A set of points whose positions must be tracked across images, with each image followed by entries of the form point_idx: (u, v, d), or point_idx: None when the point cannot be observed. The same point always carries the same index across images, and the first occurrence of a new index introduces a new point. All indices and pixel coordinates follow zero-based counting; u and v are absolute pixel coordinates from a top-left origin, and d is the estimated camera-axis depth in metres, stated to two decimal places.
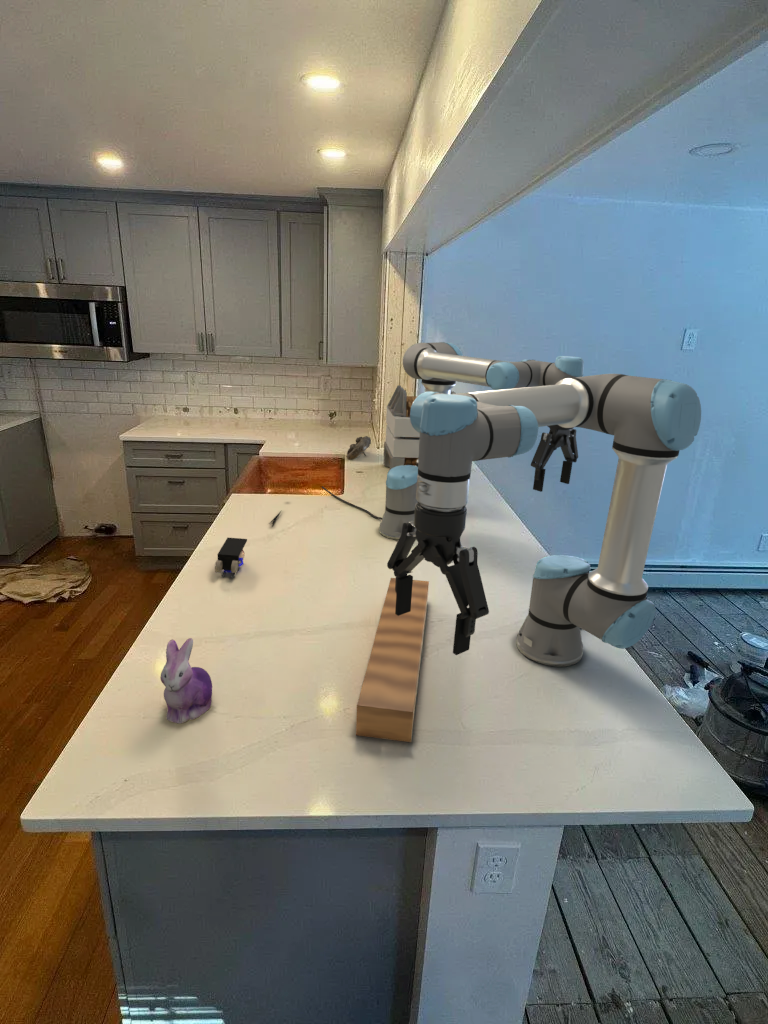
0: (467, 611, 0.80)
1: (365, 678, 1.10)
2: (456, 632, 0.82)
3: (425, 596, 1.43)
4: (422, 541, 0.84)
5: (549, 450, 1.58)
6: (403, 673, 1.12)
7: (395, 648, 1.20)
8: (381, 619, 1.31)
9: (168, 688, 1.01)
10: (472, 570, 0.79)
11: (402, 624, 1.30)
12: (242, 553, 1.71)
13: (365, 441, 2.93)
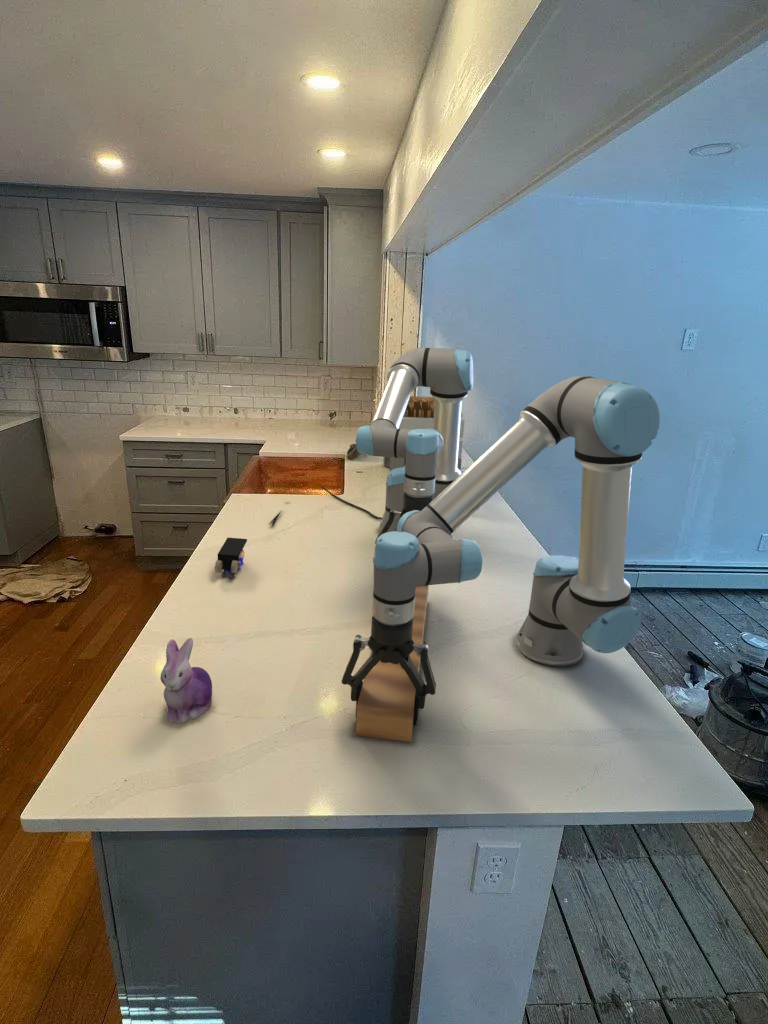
0: (424, 691, 1.05)
1: (365, 678, 1.10)
2: (415, 709, 1.06)
3: (425, 596, 1.43)
4: (382, 650, 1.02)
5: (396, 530, 1.41)
6: (403, 673, 1.12)
7: None
8: None
9: (168, 688, 1.01)
10: (428, 660, 1.04)
11: None
12: (242, 553, 1.71)
13: None
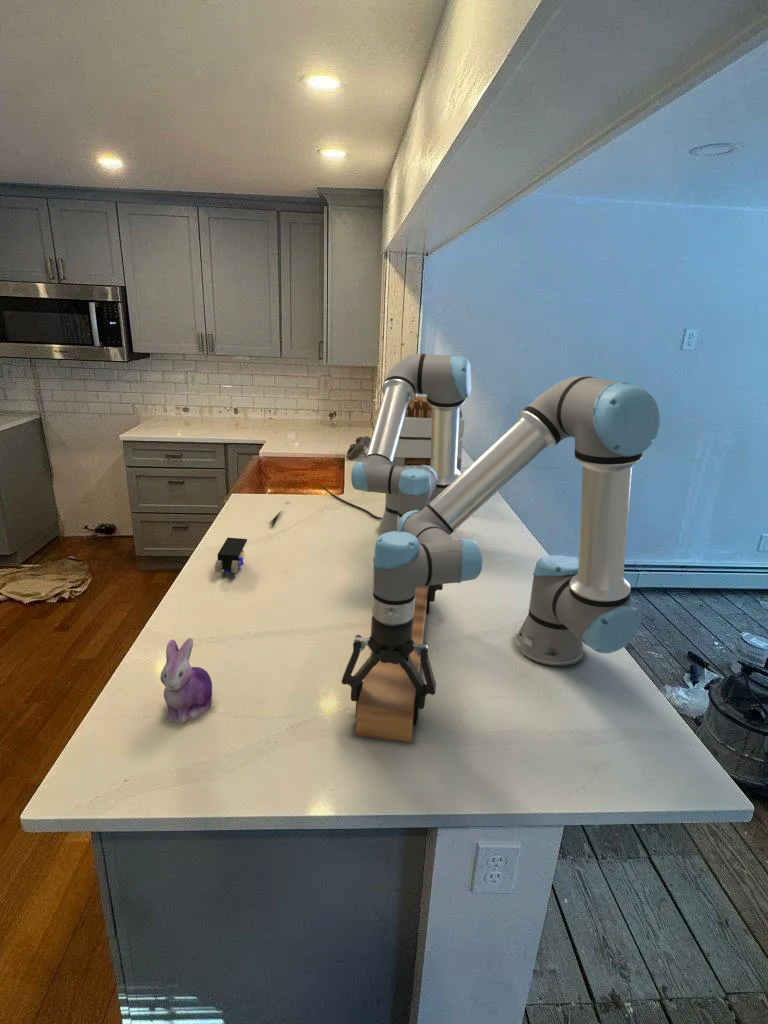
0: (424, 691, 1.05)
1: (365, 678, 1.10)
2: (415, 709, 1.06)
3: (425, 596, 1.43)
4: (382, 650, 1.02)
5: None
6: (403, 673, 1.12)
7: None
8: None
9: (168, 688, 1.01)
10: (428, 660, 1.04)
11: None
12: (242, 553, 1.71)
13: (365, 441, 2.93)
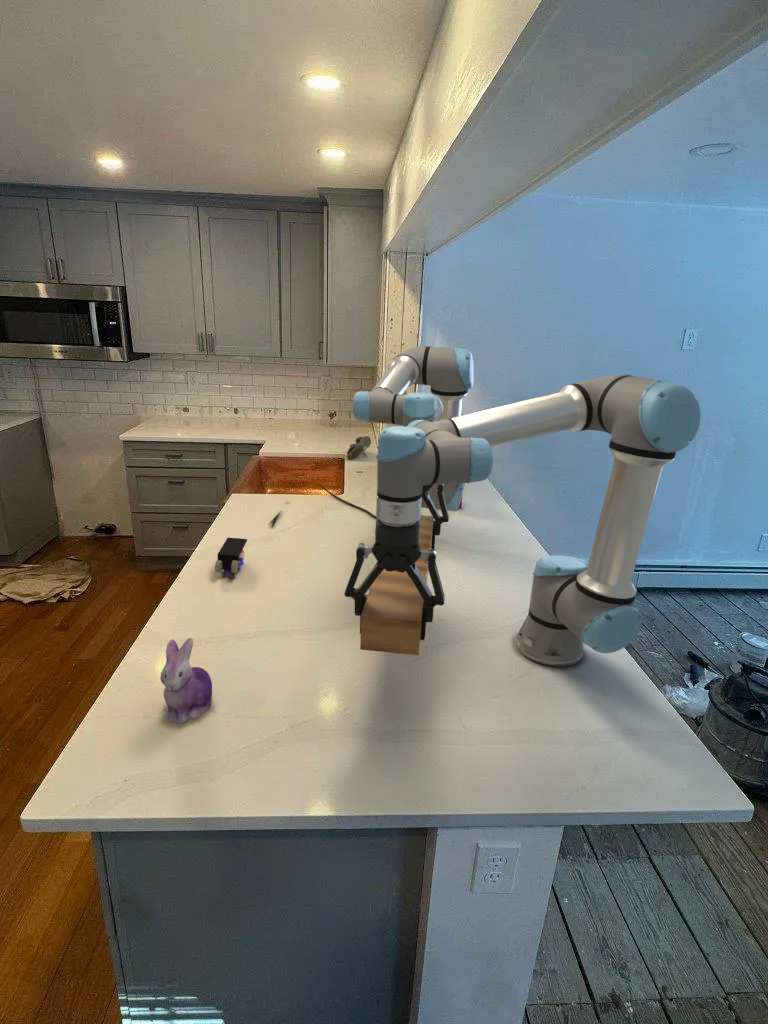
0: (432, 602, 0.99)
1: (369, 593, 1.04)
2: (423, 622, 1.00)
3: (430, 528, 1.37)
4: (387, 556, 0.96)
5: None
6: (409, 589, 1.06)
7: None
8: None
9: (168, 688, 1.01)
10: (436, 568, 0.98)
11: None
12: (242, 553, 1.71)
13: (365, 441, 2.93)
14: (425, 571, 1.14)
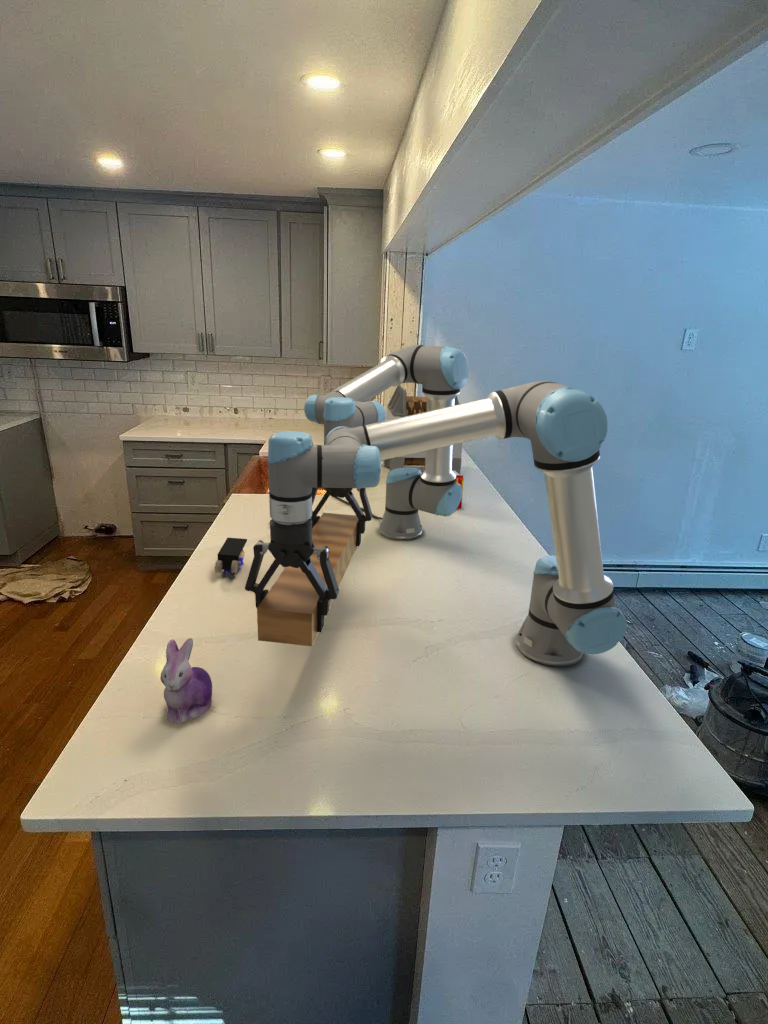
0: (326, 596, 1.05)
1: (272, 588, 1.11)
2: (318, 615, 1.06)
3: (353, 527, 1.43)
4: (281, 552, 1.02)
5: (321, 499, 1.45)
6: (311, 584, 1.13)
7: None
8: None
9: (168, 688, 1.01)
10: (328, 564, 1.04)
11: None
12: (242, 553, 1.71)
13: None
14: (333, 567, 1.20)
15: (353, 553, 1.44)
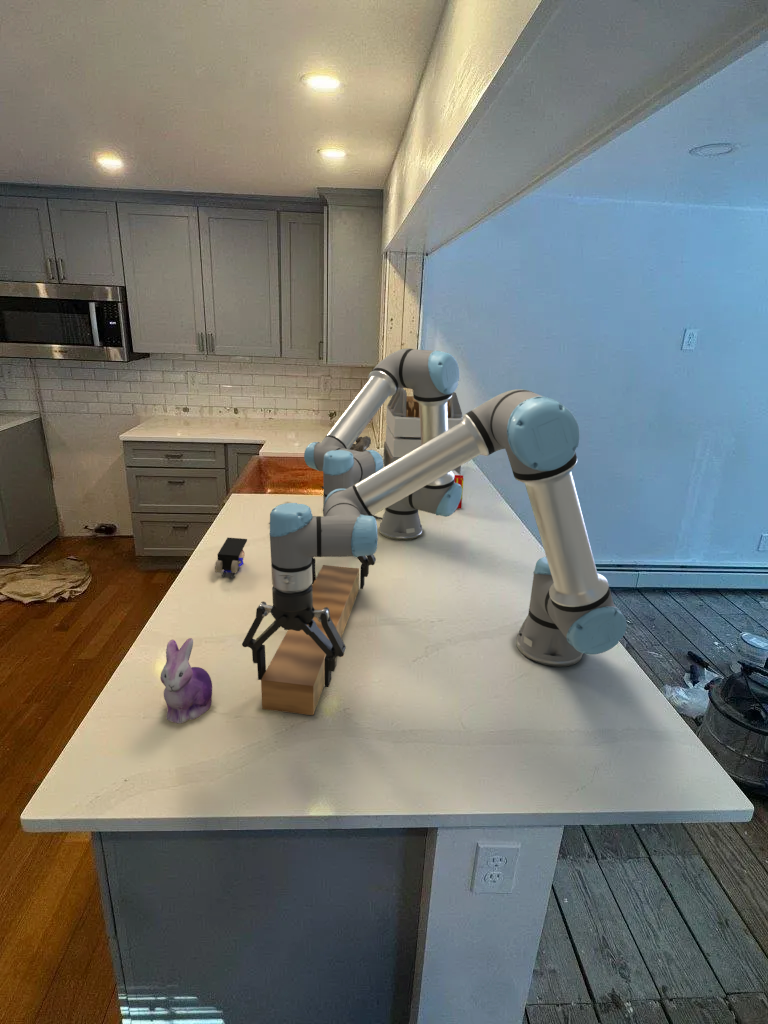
0: (333, 653, 1.09)
1: (275, 656, 1.16)
2: (326, 671, 1.11)
3: (352, 582, 1.48)
4: (283, 617, 1.07)
5: None
6: (312, 651, 1.18)
7: None
8: None
9: (168, 688, 1.01)
10: (330, 624, 1.08)
11: (323, 607, 1.35)
12: (242, 553, 1.71)
13: (365, 441, 2.93)
14: None
15: None
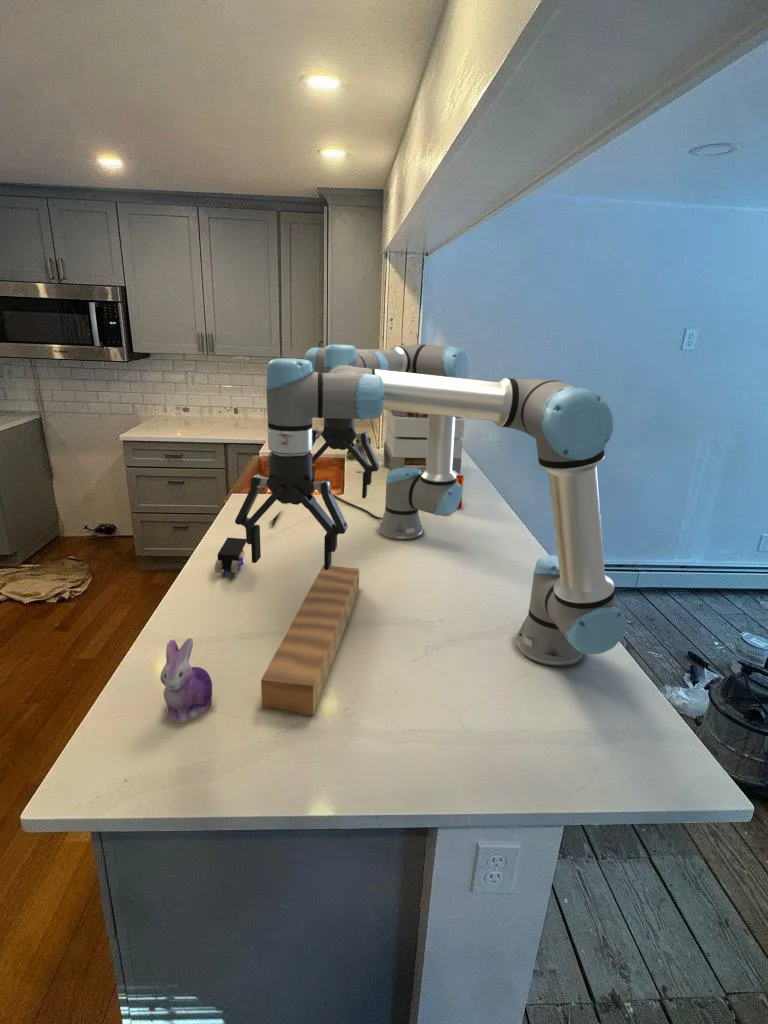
0: (334, 530, 1.01)
1: (275, 656, 1.16)
2: (326, 551, 1.02)
3: (352, 582, 1.48)
4: (280, 487, 0.98)
5: (319, 449, 1.40)
6: (312, 651, 1.18)
7: (311, 629, 1.26)
8: (304, 603, 1.37)
9: (168, 688, 1.01)
10: (331, 497, 1.00)
11: (323, 607, 1.35)
12: (242, 553, 1.71)
13: None
14: (333, 631, 1.26)
15: None
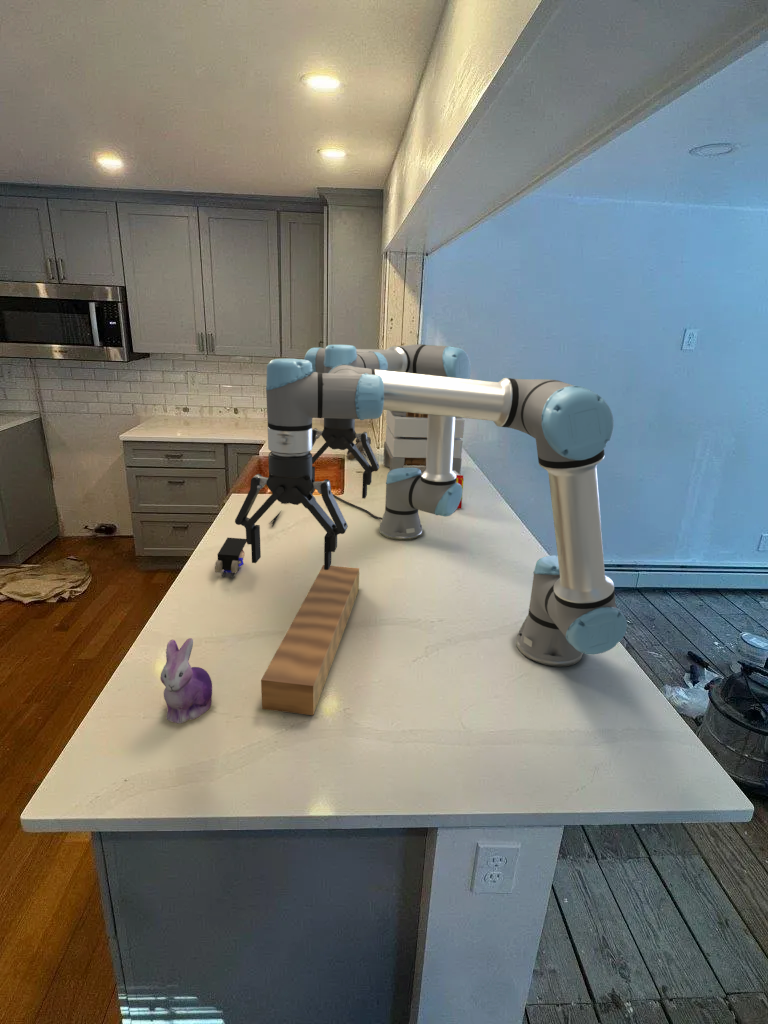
0: (334, 530, 1.01)
1: (275, 656, 1.16)
2: (326, 551, 1.02)
3: (352, 582, 1.48)
4: (280, 487, 0.98)
5: (319, 449, 1.40)
6: (312, 651, 1.18)
7: (311, 629, 1.26)
8: (304, 603, 1.37)
9: (168, 688, 1.01)
10: (331, 497, 1.00)
11: (323, 607, 1.35)
12: (242, 553, 1.71)
13: None
14: (333, 631, 1.26)
15: None
